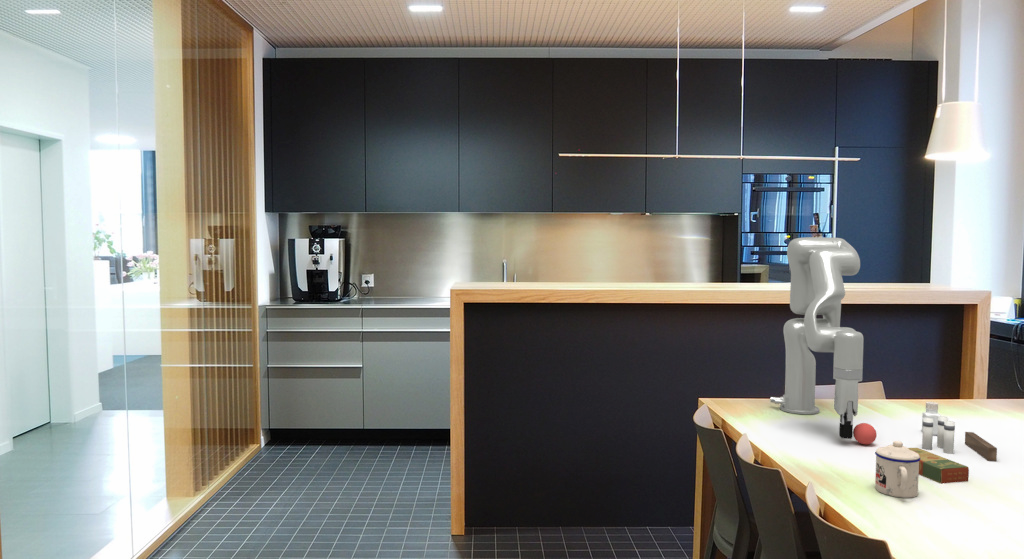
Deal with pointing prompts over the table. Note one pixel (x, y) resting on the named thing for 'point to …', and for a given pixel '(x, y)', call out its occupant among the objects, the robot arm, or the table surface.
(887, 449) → the teacup with lid
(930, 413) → the salt shaker
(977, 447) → the rail
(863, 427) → the ball
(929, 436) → the pin front
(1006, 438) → the table surface
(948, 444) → the pin rear right
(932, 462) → the carton
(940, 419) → the pin rear left
